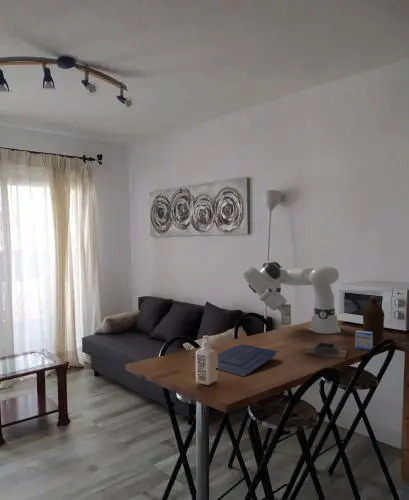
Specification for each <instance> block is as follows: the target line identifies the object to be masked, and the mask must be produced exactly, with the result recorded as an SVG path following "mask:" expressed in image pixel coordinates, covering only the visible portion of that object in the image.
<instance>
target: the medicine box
mask: <svg viewBox="0 0 409 500" xmlns="http://www.w3.org/2000/svg"><path fill="white" fill-rule="evenodd" d="M354 335H355V337H354V338H355V339H354V340H355V341H354V342H355V343H354V345H355V346H354V348H355V349H356V350H362V349H364V350H363V351H372V350H373V349H372V348H374V347H373V346H374V345H373V332H367V331H364V330H356V331H355V334H354ZM371 349H372V350H371Z"/></svg>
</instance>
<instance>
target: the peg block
mask: <svg viewBox="0 0 409 500" xmlns="http://www.w3.org/2000/svg"><path fill="white" fill-rule="evenodd" d="M281 306H282V308H283V309H284V310H286V311H287V313H286V314H285V315H284V314H283V313H282V312H280V322H281V323H280V325H281V326H282V325H283V326H291V324H292V316H291V315H292V309H291V307H292V304H290V303H285V304H282V305H281Z"/></svg>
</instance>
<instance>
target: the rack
mask: <svg viewBox="0 0 409 500" xmlns="http://www.w3.org/2000/svg"><path fill="white" fill-rule="evenodd" d="M347 354H348V350H346V349H344V350H343V349H338V343H337V344H336V343H327V342H326V343H325V342H317V343H316V345H315V347H314V346H308V349H307V350H306V351H305V352H304V355H305V356H311V357H312V356H313V357H322V358H331V359H339V360H340V359H341V360H345V359H346V357H347Z"/></svg>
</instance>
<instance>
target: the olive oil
mask: <svg viewBox="0 0 409 500" xmlns="http://www.w3.org/2000/svg"><path fill="white" fill-rule="evenodd" d="M362 325H363V328H362V329H363V331H367V332H373V346H377V345H376V344H378V343H379V342H381V341H382V340H383V341H384V331H385V312H384V310H383V309H382V308H381V306H380V305H379V304H378V299H377V296H376V295H370V298H369V304H368V305H367V306H365V307H364V309H363V311H362Z"/></svg>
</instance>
